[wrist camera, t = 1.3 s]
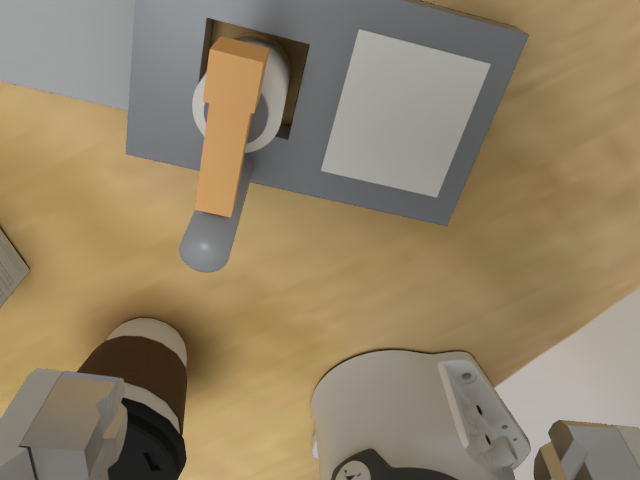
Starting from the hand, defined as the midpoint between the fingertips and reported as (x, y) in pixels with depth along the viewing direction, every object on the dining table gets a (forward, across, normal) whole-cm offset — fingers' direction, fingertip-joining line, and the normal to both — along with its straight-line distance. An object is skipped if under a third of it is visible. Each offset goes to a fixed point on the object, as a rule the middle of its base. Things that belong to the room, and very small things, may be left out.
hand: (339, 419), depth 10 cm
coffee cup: (+28, +12, +26) cm, 40 cm away
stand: (+28, +1, +2) cm, 28 cm away
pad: (+28, +17, -1) cm, 32 cm away
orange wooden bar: (+18, +5, +1) cm, 19 cm away
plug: (+28, +5, +1) cm, 28 cm away
